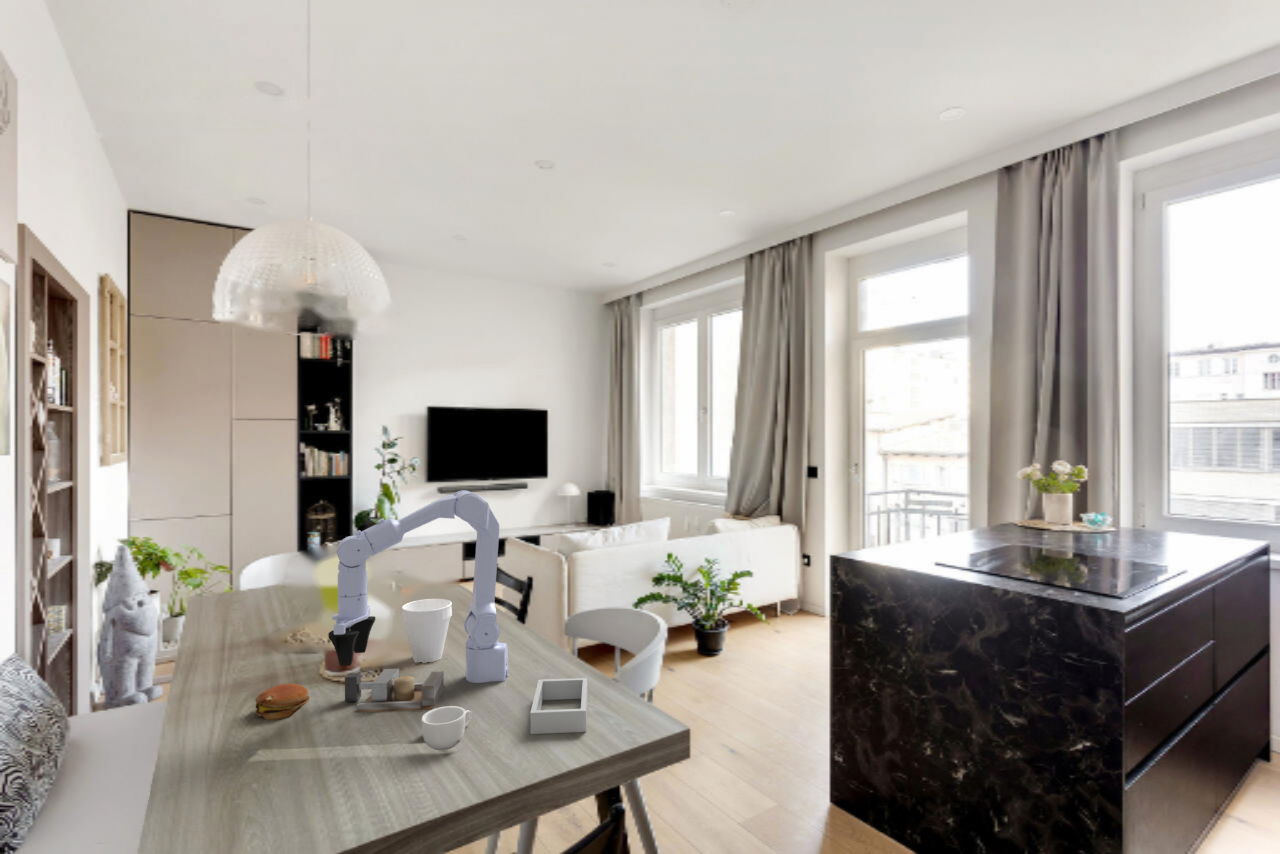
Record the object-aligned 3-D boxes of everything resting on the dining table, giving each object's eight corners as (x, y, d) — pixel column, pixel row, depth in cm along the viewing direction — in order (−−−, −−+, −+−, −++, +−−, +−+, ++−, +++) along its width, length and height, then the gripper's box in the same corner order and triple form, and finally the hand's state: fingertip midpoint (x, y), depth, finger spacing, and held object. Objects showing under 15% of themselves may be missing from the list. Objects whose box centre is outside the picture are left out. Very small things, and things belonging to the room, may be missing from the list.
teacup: (437, 759, 112) (437, 728, 112) (413, 746, 117) (413, 716, 117) (484, 738, 120) (484, 709, 120) (459, 726, 125) (459, 698, 125)
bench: (445, 693, 141) (445, 667, 141) (431, 716, 129) (431, 689, 129) (376, 695, 140) (376, 670, 140) (355, 719, 128) (355, 692, 128)
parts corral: (587, 696, 138) (587, 677, 139) (586, 731, 122) (585, 710, 122) (538, 698, 138) (538, 679, 138) (530, 734, 121) (530, 712, 121)
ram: (399, 690, 139) (398, 666, 139) (386, 705, 131) (386, 680, 131) (354, 691, 138) (354, 668, 138) (339, 707, 130) (339, 682, 130)
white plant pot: (432, 669, 156) (432, 613, 156) (391, 664, 160) (390, 609, 160) (462, 652, 167) (461, 600, 168) (422, 648, 171) (422, 597, 171)
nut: (416, 694, 137) (416, 675, 137) (411, 702, 133) (411, 682, 133) (397, 695, 137) (397, 676, 137) (391, 702, 133) (391, 683, 133)
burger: (314, 699, 139) (314, 678, 139) (301, 718, 130) (300, 695, 130) (265, 704, 137) (264, 682, 137) (247, 723, 128) (247, 700, 128)
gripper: (347, 586, 142) (347, 647, 142) (317, 603, 128) (318, 671, 128) (379, 585, 143) (379, 646, 143) (354, 602, 128) (354, 670, 128)
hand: (353, 658), depth 135 cm, fingers open, 7 cm apart
